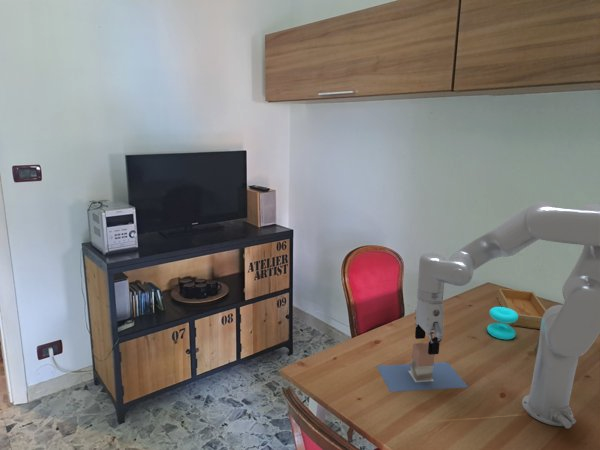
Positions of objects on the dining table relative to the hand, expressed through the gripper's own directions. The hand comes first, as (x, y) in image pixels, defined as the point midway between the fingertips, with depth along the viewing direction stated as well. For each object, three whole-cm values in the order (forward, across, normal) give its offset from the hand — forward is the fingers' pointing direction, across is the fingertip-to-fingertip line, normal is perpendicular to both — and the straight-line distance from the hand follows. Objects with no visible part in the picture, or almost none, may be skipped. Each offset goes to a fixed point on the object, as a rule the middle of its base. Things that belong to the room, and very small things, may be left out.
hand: (426, 345), depth 131 cm
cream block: (+11, 0, +1) cm, 11 cm away
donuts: (+12, +26, -43) cm, 51 cm away
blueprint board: (+11, +1, +1) cm, 11 cm away
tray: (+13, +43, -64) cm, 78 cm away
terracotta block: (+6, 0, +1) cm, 6 cm away
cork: (+13, +12, -51) cm, 53 cm away
